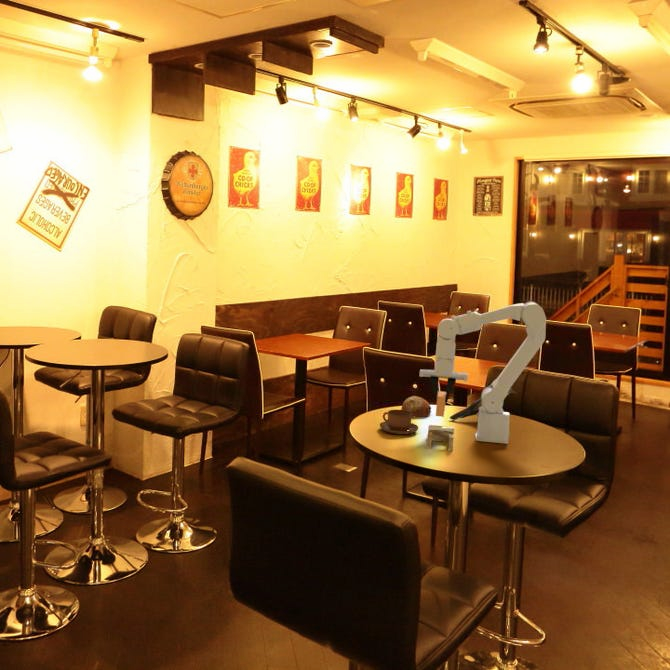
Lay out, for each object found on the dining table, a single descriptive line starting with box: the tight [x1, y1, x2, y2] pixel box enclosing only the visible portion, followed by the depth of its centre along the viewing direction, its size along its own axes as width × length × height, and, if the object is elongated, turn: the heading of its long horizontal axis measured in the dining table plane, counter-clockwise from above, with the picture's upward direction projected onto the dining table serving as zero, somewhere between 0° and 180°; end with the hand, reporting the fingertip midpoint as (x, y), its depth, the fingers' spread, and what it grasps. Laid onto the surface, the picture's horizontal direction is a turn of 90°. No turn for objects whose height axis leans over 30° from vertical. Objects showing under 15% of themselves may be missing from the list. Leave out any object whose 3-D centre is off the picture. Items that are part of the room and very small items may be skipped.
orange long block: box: [435, 390, 447, 417], centre depth 222 cm, size 2×8×6 cm, turn 169°
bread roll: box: [400, 395, 432, 418], centre depth 248 cm, size 10×10×8 cm
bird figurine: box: [449, 387, 517, 422], centre depth 240 cm, size 13×10×20 cm
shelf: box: [426, 424, 455, 452], centre depth 212 cm, size 7×12×5 cm, turn 170°
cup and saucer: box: [379, 409, 419, 435], centre depth 224 cm, size 12×12×6 cm
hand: (441, 401), depth 222 cm, fingers closed on orange long block, 2 cm apart
